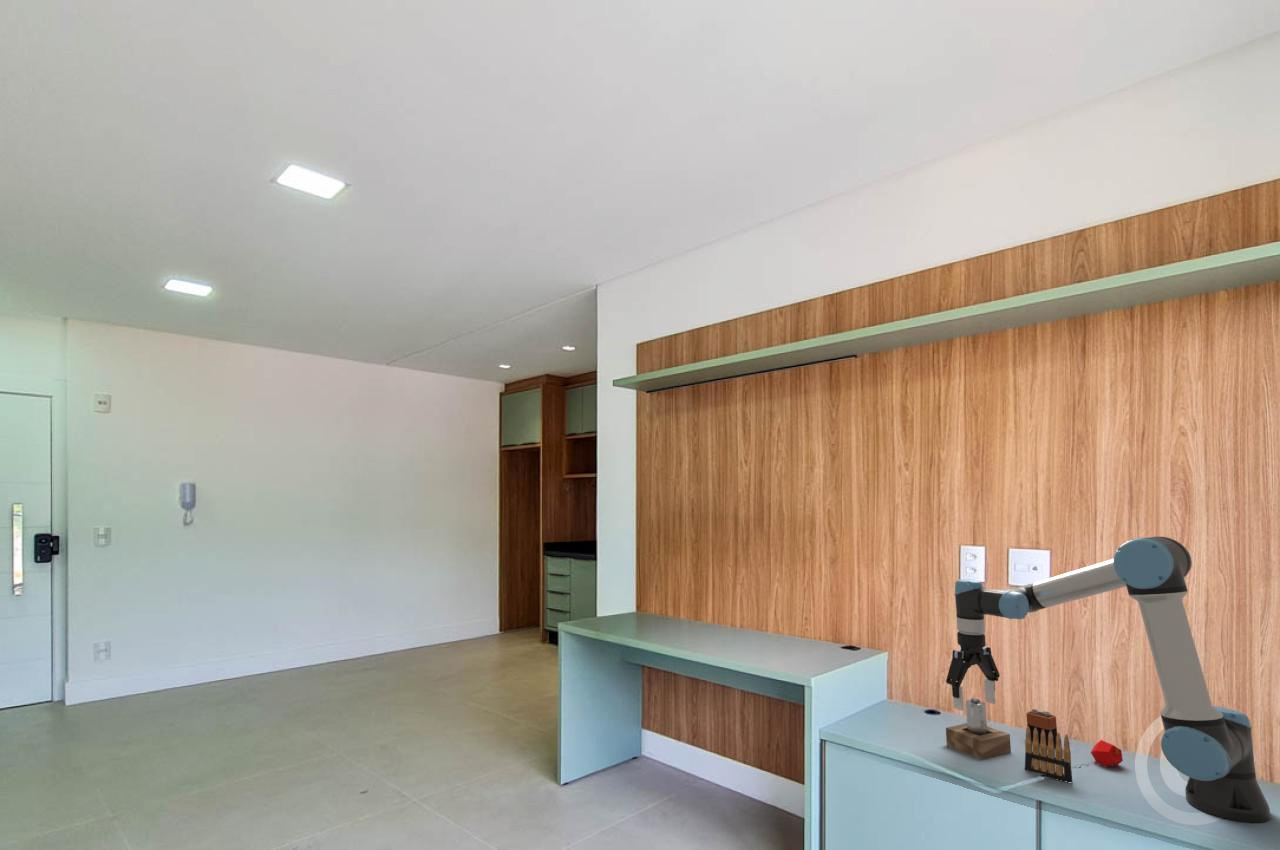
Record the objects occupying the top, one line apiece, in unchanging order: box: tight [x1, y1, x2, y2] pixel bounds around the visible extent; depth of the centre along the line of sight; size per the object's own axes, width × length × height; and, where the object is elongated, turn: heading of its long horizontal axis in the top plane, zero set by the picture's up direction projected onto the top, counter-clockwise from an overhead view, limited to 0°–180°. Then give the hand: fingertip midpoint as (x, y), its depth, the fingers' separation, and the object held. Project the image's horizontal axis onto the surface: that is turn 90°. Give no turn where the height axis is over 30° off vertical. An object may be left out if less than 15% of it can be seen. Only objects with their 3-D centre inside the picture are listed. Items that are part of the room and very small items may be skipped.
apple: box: [1090, 739, 1124, 767], centre depth 183 cm, size 7×7×8 cm
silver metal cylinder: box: [965, 698, 988, 736], centre depth 193 cm, size 5×5×14 cm
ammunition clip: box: [1024, 725, 1073, 783], centre depth 175 cm, size 11×2×12 cm, turn 52°
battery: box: [1025, 708, 1058, 748], centre depth 198 cm, size 4×7×10 cm, turn 33°
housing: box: [945, 722, 1012, 760], centre depth 193 cm, size 12×12×6 cm
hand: (974, 705), depth 194 cm, fingers open, 13 cm apart
